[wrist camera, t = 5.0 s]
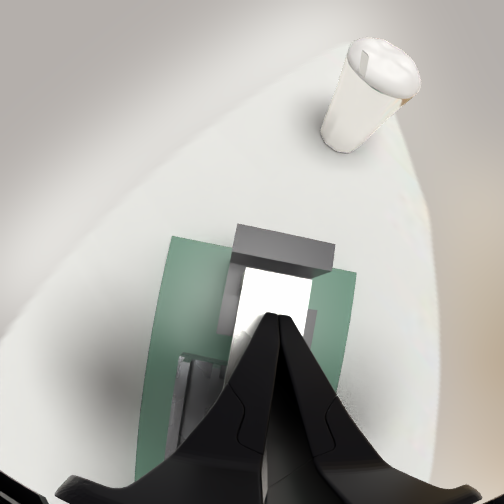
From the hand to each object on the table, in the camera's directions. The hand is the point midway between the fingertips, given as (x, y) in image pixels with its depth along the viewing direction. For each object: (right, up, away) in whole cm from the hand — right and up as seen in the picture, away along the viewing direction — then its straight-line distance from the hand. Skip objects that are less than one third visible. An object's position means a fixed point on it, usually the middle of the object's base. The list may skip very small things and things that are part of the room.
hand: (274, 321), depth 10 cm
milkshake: (+6, +11, +11) cm, 17 cm away
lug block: (-1, 0, +8) cm, 8 cm away
